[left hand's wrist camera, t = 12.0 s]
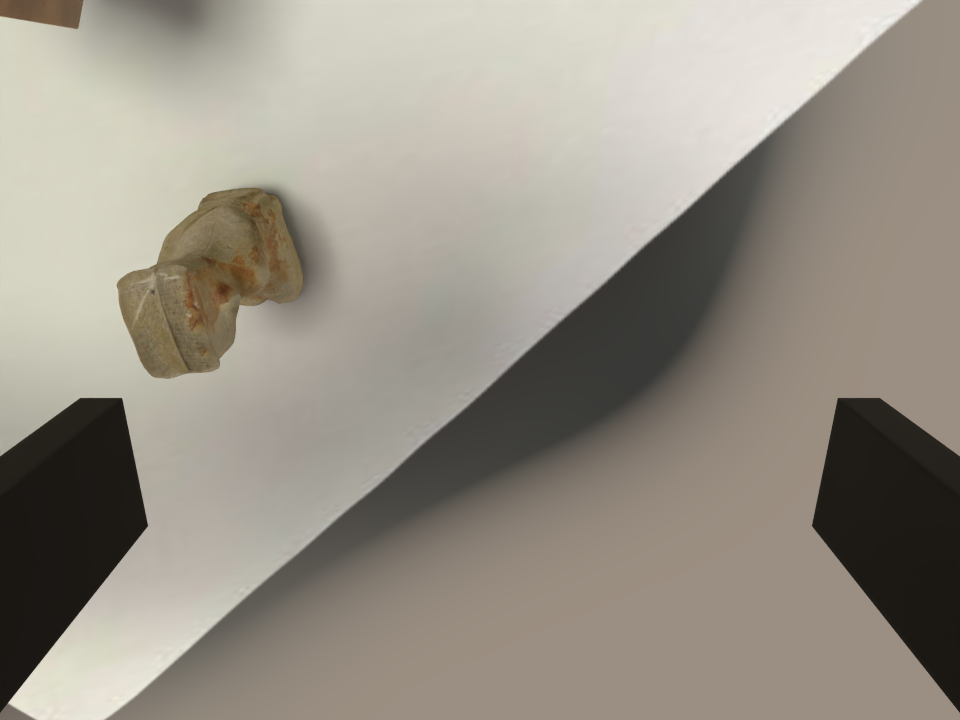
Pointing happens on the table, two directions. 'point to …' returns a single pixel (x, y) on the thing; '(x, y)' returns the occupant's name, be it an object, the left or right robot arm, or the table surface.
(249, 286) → the sculpture
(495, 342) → the table surface
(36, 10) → the box
